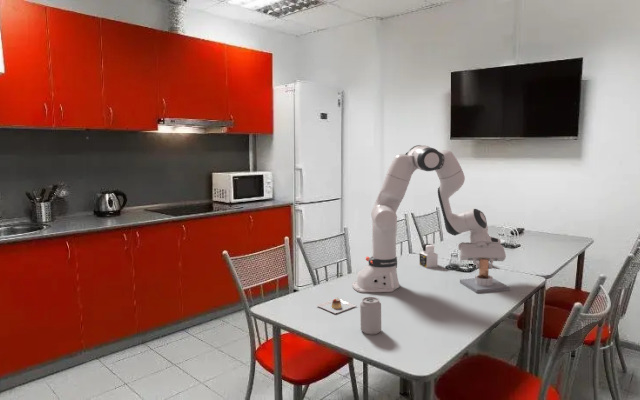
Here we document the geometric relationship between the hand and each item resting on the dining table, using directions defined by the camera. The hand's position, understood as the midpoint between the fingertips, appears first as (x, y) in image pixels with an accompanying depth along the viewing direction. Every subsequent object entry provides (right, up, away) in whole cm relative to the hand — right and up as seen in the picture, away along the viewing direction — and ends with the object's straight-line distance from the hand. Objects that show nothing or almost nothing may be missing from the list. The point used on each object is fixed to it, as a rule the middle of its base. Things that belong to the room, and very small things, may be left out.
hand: (484, 268), depth 195 cm
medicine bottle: (-16, -5, +37) cm, 41 cm away
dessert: (-69, -14, -18) cm, 73 cm away
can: (-58, -16, -42) cm, 73 cm away
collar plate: (0, -9, +2) cm, 9 cm away
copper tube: (0, -6, +1) cm, 6 cm away
